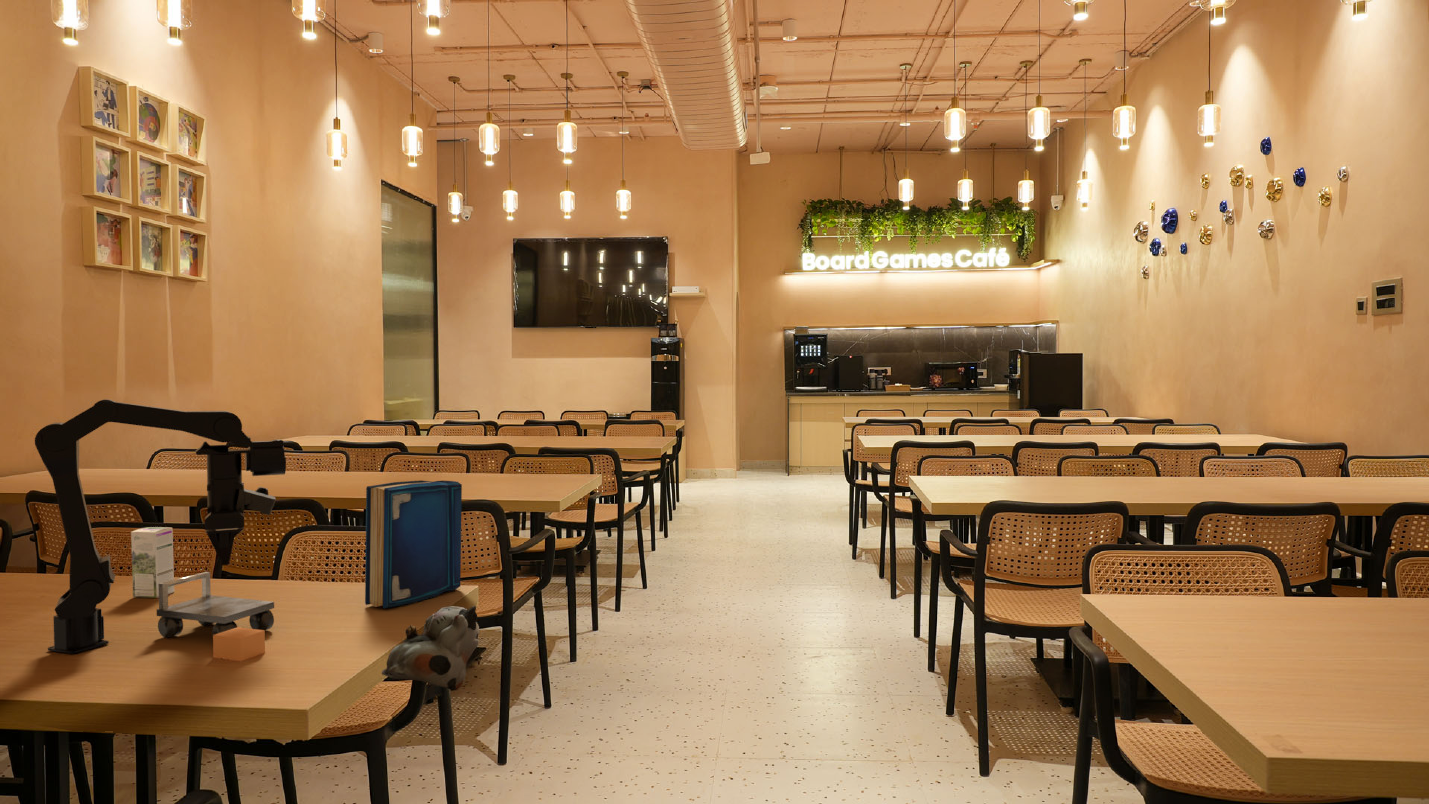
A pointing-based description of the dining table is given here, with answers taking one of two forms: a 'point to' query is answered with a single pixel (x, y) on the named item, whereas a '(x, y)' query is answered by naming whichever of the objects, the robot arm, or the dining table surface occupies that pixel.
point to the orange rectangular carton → (239, 644)
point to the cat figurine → (437, 649)
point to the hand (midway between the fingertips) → (225, 560)
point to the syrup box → (151, 560)
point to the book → (412, 541)
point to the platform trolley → (210, 609)
